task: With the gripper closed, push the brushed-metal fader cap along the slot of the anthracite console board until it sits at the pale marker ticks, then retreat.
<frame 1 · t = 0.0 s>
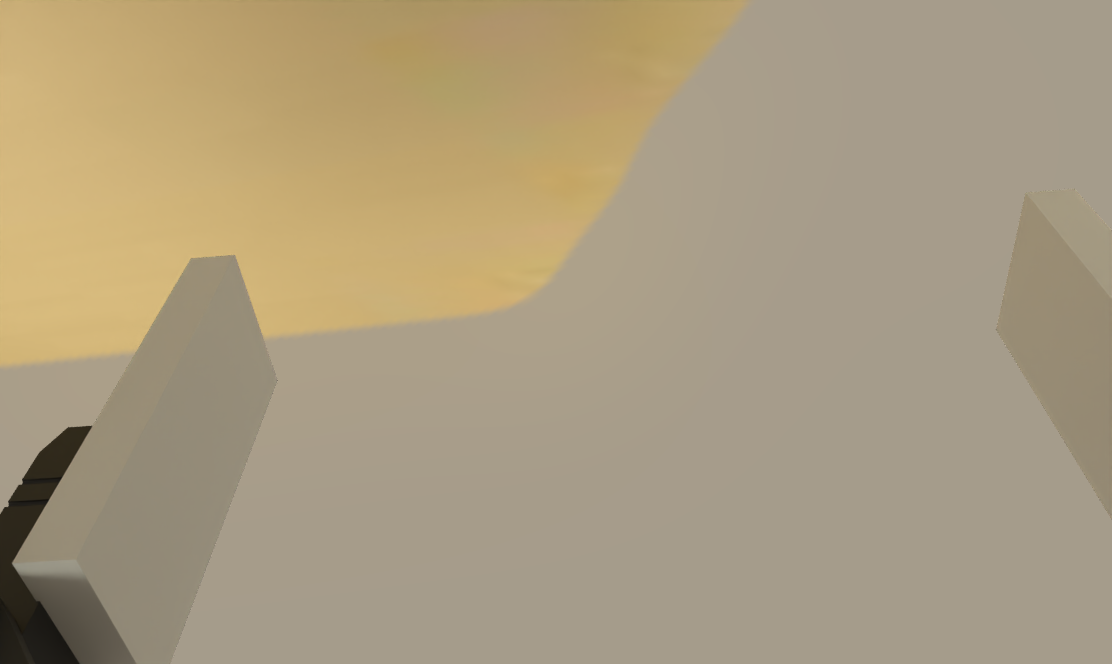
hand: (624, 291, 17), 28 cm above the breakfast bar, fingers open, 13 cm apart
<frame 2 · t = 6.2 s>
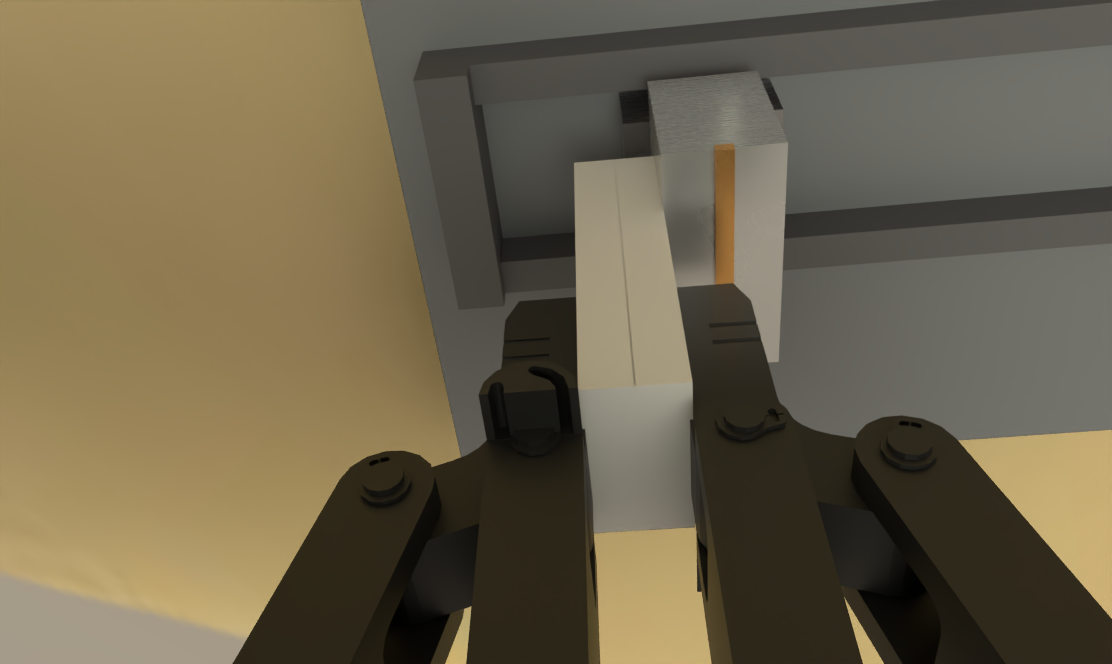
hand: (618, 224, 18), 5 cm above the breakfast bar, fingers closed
fader: (708, 203, 18), point 4 cm above the breakfast bar, slide at -5.7 cm, touching gripper
console: (942, 84, 22), on the breakfast bar
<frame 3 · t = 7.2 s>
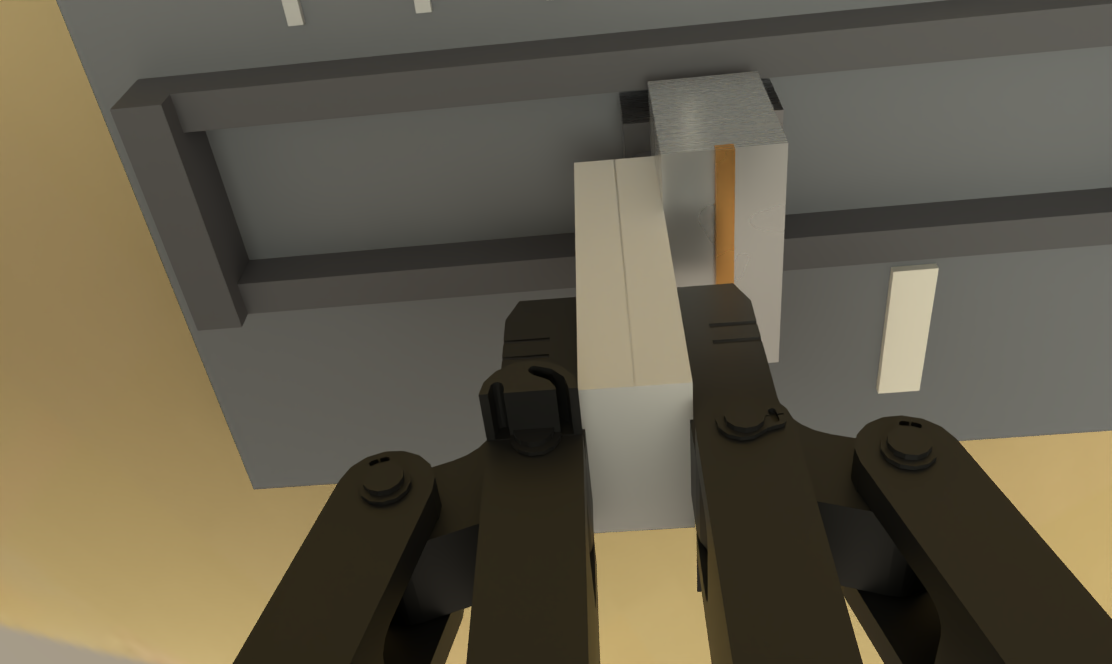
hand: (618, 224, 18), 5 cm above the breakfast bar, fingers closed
fader: (708, 204, 18), point 4 cm above the breakfast bar, slide at 0.1 cm, touching gripper
console: (680, 109, 22), on the breakfast bar
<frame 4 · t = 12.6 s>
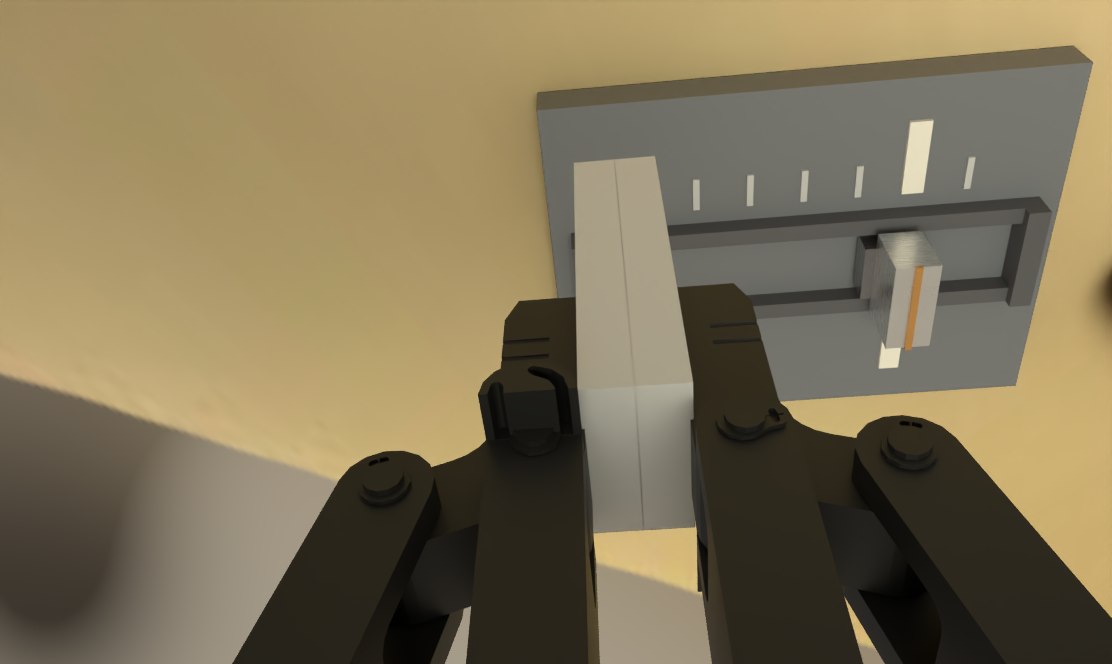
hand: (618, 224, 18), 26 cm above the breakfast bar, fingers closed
fader: (899, 281, 45), point 4 cm above the breakfast bar, slide at 4.2 cm
console: (791, 240, 49), on the breakfast bar
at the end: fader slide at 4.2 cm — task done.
